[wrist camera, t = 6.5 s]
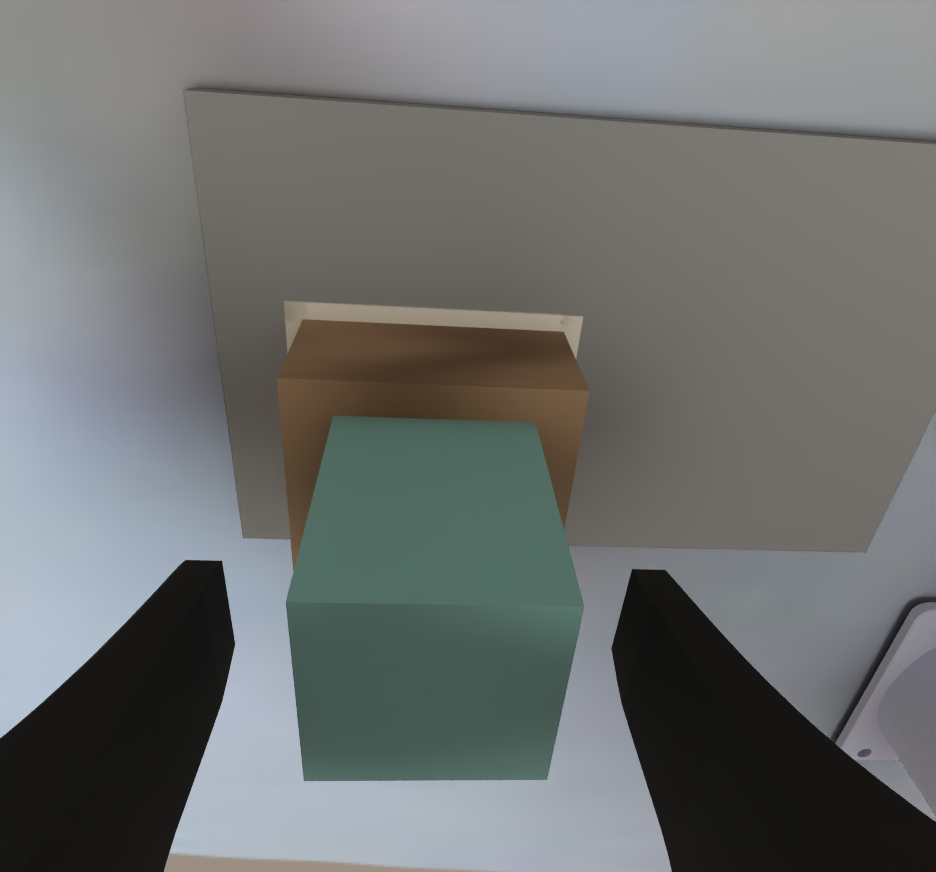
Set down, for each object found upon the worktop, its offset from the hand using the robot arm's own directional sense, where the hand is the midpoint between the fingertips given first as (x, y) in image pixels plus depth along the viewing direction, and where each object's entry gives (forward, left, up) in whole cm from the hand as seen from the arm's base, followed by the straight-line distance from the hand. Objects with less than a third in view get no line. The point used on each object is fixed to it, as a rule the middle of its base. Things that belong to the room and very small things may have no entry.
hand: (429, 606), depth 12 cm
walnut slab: (0, 0, -6) cm, 6 cm away
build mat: (-4, -2, -6) cm, 8 cm away
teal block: (0, 0, -3) cm, 3 cm away
